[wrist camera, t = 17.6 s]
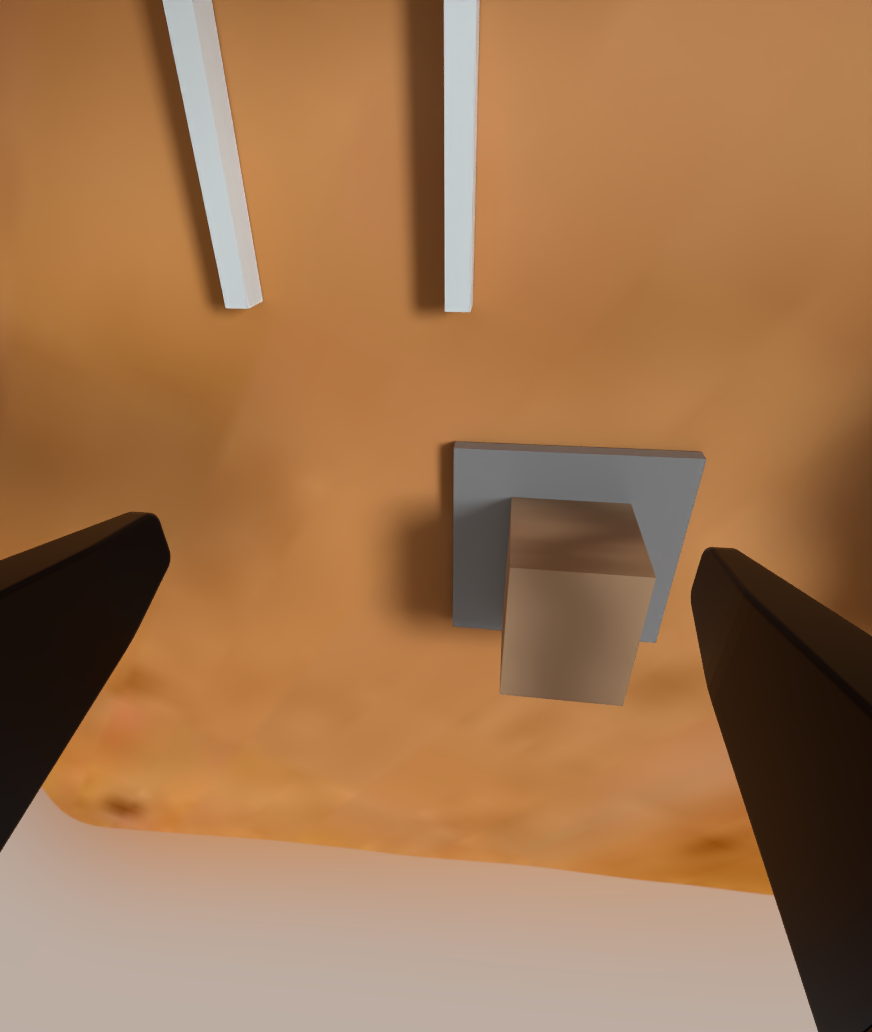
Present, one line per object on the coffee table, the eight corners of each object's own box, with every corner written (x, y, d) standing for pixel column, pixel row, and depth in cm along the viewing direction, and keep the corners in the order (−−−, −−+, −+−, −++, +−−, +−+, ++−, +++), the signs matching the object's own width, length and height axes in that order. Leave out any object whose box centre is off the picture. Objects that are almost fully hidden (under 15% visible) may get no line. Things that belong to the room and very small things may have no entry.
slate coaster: (701, 451, 20) (706, 459, 20) (652, 633, 25) (655, 642, 24) (455, 441, 21) (453, 448, 21) (453, 617, 26) (452, 626, 25)
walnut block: (631, 503, 21) (656, 577, 17) (606, 621, 24) (622, 705, 20) (511, 496, 21) (509, 567, 18) (502, 613, 24) (499, 694, 21)
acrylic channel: (489, -443, 11) (486, -506, 10) (472, 304, 18) (470, 311, 17) (109, -390, 12) (71, -442, 11) (241, 301, 19) (225, 308, 18)
